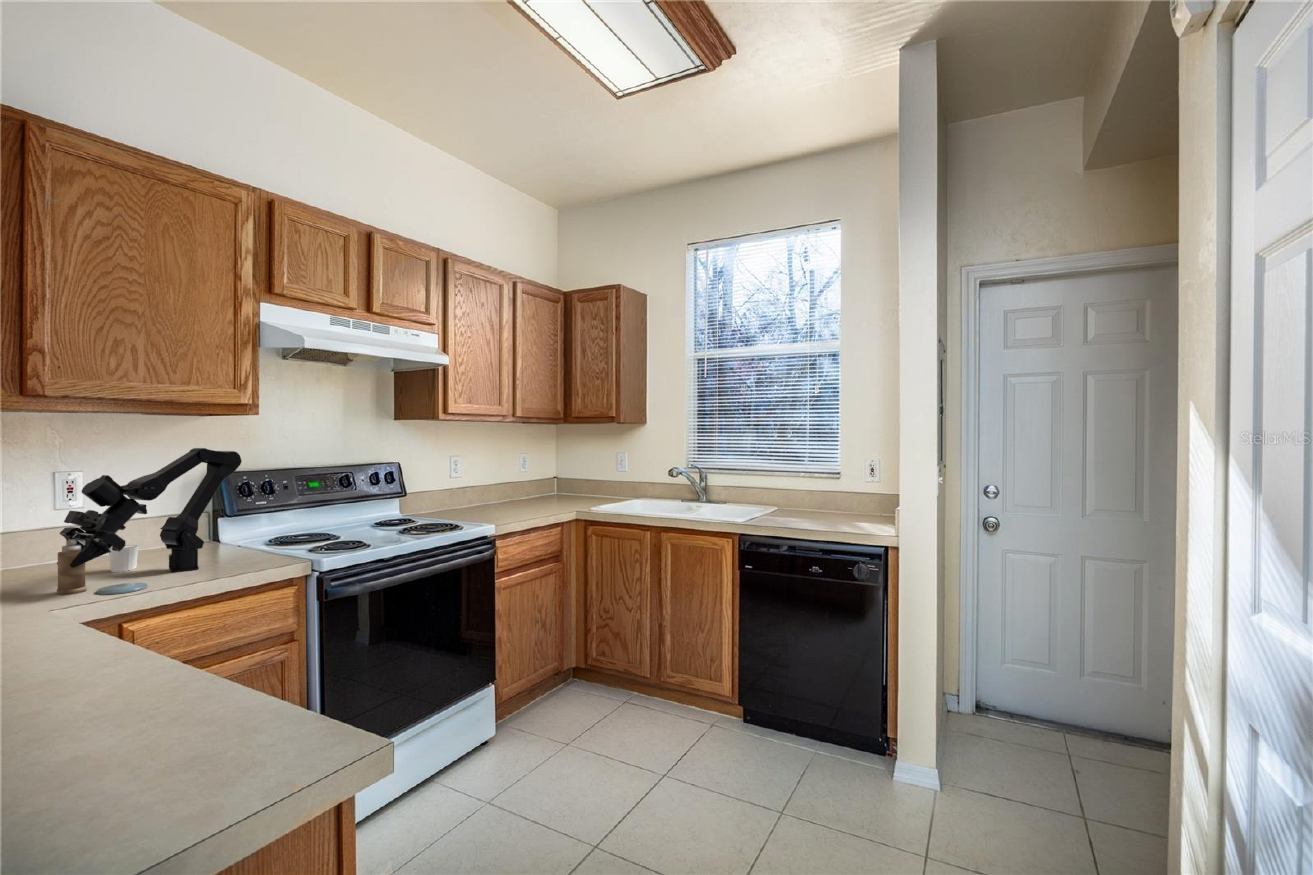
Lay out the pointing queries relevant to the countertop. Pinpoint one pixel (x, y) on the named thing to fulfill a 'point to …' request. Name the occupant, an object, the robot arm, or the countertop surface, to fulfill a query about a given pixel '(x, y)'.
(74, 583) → the pepper mill
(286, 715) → the countertop surface
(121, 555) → the white faceted cup
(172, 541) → the robot arm
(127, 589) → the trivet
